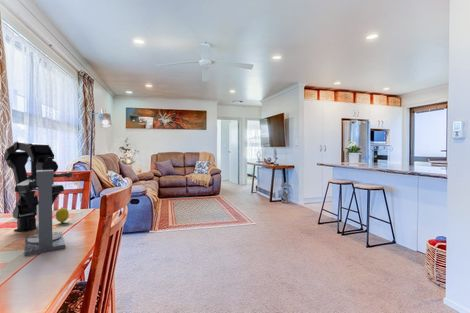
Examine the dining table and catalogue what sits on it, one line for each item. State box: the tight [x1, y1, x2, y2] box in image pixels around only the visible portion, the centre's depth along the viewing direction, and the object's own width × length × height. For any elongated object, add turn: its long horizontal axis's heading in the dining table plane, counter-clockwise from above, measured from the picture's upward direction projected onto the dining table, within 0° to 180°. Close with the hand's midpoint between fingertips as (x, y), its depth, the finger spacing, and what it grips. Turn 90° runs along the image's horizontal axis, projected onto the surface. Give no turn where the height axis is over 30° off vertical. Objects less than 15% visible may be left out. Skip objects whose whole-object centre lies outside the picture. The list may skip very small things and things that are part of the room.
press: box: [24, 170, 73, 257], centre depth 101 cm, size 19×15×30 cm
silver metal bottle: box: [36, 205, 39, 238], centre depth 103 cm, size 5×5×14 cm
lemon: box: [55, 206, 70, 224], centre depth 130 cm, size 6×6×8 cm
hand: (39, 208), depth 111 cm, fingers open, 9 cm apart
